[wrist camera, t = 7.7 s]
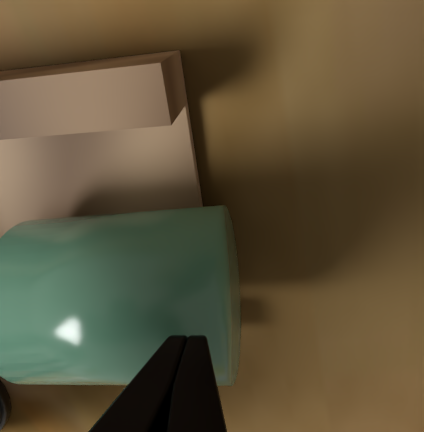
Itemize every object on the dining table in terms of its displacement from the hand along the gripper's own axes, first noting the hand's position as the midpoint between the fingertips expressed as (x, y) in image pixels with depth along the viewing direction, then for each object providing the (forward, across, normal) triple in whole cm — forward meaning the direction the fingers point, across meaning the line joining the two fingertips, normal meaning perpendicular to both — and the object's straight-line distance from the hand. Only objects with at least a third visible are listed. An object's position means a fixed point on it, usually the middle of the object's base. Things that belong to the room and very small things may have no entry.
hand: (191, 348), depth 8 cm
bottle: (+3, 0, +1) cm, 3 cm away
